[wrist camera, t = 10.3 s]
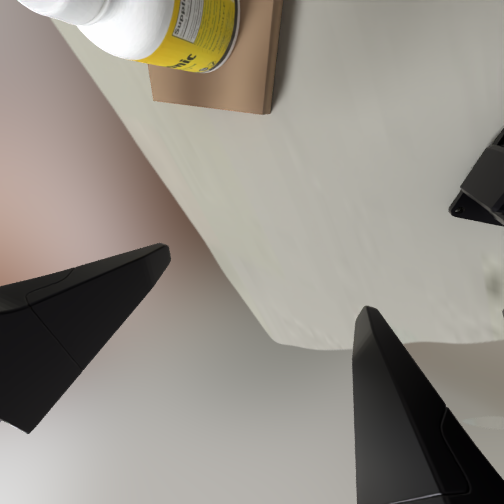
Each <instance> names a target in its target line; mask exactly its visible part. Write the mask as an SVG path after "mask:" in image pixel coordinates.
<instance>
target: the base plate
mask: <svg viewBox="0 0 504 504" xmlns="http://www.w3.org/2000/svg"><path fill="white" fill-rule="evenodd" d="M282 6H283V0H240V23H239V30H238V35H237V39H236V42H235V45H234V48H233V50H232V52H231V54H230V56H229V57H228V59H227V60H226V61H225V63H224V64H223V65H222V66H220V67H219V68H218V69H216V70H214V71H212V72H208V73H195V72H190V71H184V70H179V69H173V68H168V67H162V66H157V65H152V64H148V69H149V75H150V82H151V88H152V94H153V101H158V102H166V103H174V104H182V105H190V106H198V107H206V108H214V109H222V110H229V111H237V112H245V113H253V114H261V115H264V114H270V111H271V102H272V93H273V85H274V76H275V67H276V58H277V50H278V41H279V32H280V23H281V15H282Z"/></svg>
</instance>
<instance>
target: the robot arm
mask: <svg viewBox="0 0 504 504" xmlns="http://www.w3.org/2000/svg"><path fill="white" fill-rule="evenodd" d="M460 188H461V191H460V192H459V194H458V195H457V197H456V198H455V200H454V201H453V203H452V204H451V206H450V207H449V213H450V214H451V215H452V216H454V217H458V218H463V219H468V220H474V221H479V222H484V223H489V224H494V225H499V226H504V129H503V130H502V131H501V133H500V134H499V136H498V137H497V139H496V140H495V142H494V143H493V145H491V146H490V147H488V148H486V149H485V151H484V152H483V154H482V155H481V157H480V158H479V160H478V161H477V163H476V164H475V165H474V167H473V168H472V170H471V171H470V173H469V174H468V176H467V177H466V179H465V180H464V182H463V183H462V185H461V186H460ZM459 207H462V209H461V210H460V211H458V212H455V210H456V209H457V208H459ZM170 261H171V257H170V251H169V247H168V246H167V245H166V244H162V243H157V244H154V245H151V246H147V247H143V248H140V249H137V250H133V251H130V252H126V253H123V254H119V255H116V256H112V257H109V258H105V259H102V260H98V261H95V262H91V263H88V264H85V265H81V266H78V267H76V268H71V269H67V270H64V271H60V272H56V273H53V274H49V275H45V276H41V277H37V278H33V279H29V280H25V281H20V282H16V283H12V284H8V285H4V286H0V422H1V421H4V422H6V423H8V424H10V425H12V426H14V427H16V428H17V429H19V430H21V431H23V432H25V433H27V434H29V433H30V432H31V431H32V430H33V429H34V428H35V427H36V426H37V425H38V424H39V422H40V421H41V420H42V419H43V418H44V416H45V415H46V414H47V413H48V412H49V411H50V409H51V408H52V407H53V406H54V405H55V403H56V402H57V401H58V400H59V399H60V397H61V396H62V395H63V394H64V393H65V392H66V390H67V389H68V388H69V387H70V385H71V384H72V383H73V382H74V381H75V380H76V378H77V377H78V376H79V375H80V374H81V372H82V371H83V370H84V369H85V368H86V366H87V365H88V364H89V363H90V362H91V360H92V359H93V358H94V357H95V356H96V355H97V353H98V352H99V351H100V349H101V348H102V347H103V346H104V345H105V344H106V343H107V341H108V340H109V339H110V338H111V337H112V335H113V334H114V333H115V332H116V331H117V330H118V328H119V327H120V326H121V325H122V324H123V322H124V321H125V320H126V319H127V318H128V317H129V315H130V314H131V313H132V312H133V311H134V309H135V308H136V307H137V306H138V305H139V304H140V302H141V301H142V300H143V299H144V298H145V296H146V295H147V294H148V293H149V292H150V290H151V289H152V288H153V287H154V285H155V284H156V282H157V281H158V279H159V278H160V277H161V275H162V274H163V272H164V271H165V269H166V268H167V266H168V265H169V263H170ZM502 312H503V317H504V310H503V311H502ZM352 372H353V400H354V429H355V458H356V487H357V504H504V480H503V479H502V478H501V476H500V475H499V474H498V473H497V472H496V470H495V469H494V468H493V466H492V465H491V464H490V463H489V461H488V460H487V459H486V457H485V456H484V455H483V454H482V452H481V451H480V450H479V449H478V447H477V446H476V445H475V443H474V442H473V441H472V439H471V438H470V437H469V435H468V434H467V433H466V431H465V430H464V429H463V427H462V426H461V425H460V423H459V422H458V420H457V419H456V418H455V416H454V415H453V414H452V412H451V411H450V409H449V408H448V407H446V404H445V403H444V401H443V400H442V398H441V397H440V396H439V394H438V393H437V391H436V390H435V389H434V387H433V386H432V385H431V383H430V382H429V380H428V379H427V378H426V377H425V375H424V373H423V372H422V371H421V369H420V368H419V366H418V365H417V364H416V362H415V361H414V359H413V358H412V357H411V355H410V354H409V352H408V351H407V350H406V348H405V347H404V346H403V344H402V343H401V341H400V340H399V339H398V337H397V336H396V334H395V333H394V332H393V330H392V329H391V327H390V326H389V325H388V323H387V322H386V320H385V319H384V318H383V316H382V315H381V314H380V312H379V311H378V310H377V309H376V308H373V307H370V306H364V307H363V309H362V311H361V312H360V314H359V315H358V317H357V319H356V323H355V333H354V344H353V355H352Z"/></svg>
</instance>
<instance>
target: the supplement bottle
mask: <svg viewBox="0 0 504 504" xmlns="http://www.w3.org/2000/svg"><path fill="white" fill-rule="evenodd" d="M18 1H19V2H20V3H22V4H23V5H24V6H26V7H27V8H29V9H30V10H32V11H34V12H36V13H39V14H41V15H44V16H47V17H51V18H54V19H57V20H61V21H64V22H66V23H69V24H73V25H76V26H77V27H78V28H79V29H80V31H81V32H82V33H83V34H84V35H85V36H86V37H87V38H88V39H89V40H91V41H92V42H93V43H94V44H95V45H97V46H98V47H99V48H101V49H102V50H104V51H106V52H107V53H109V54H112V55H114V56H117V57H120V58H124V59H127V60H132V61H138V62H143V63H147V64H152V65H157V66H162V67H168V68H173V69H179V70H184V71H190V72H195V73H208V72H212V71H214V70H216V69H218V68H219V67H220V66H222V65H223V64H224V63H225V61H226V60H227V59H228V57H229V56H230V54H231V52H232V50H233V48H234V45H235V42H236V39H237V35H238V30H239V23H240V0H18Z"/></svg>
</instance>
